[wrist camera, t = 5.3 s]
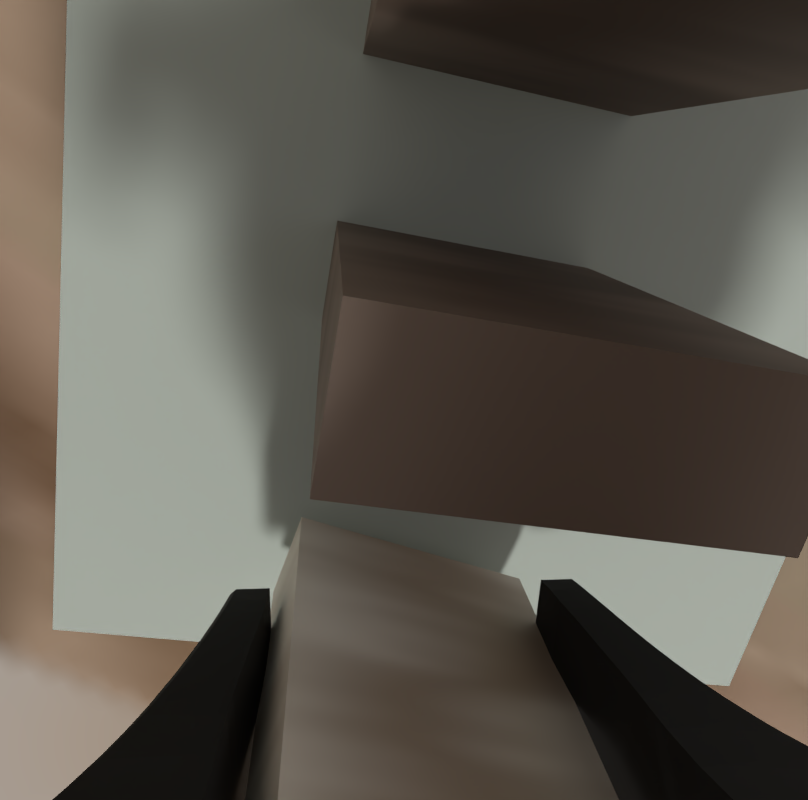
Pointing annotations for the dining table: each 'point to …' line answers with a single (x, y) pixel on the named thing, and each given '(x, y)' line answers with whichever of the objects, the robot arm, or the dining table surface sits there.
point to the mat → (307, 283)
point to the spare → (411, 683)
